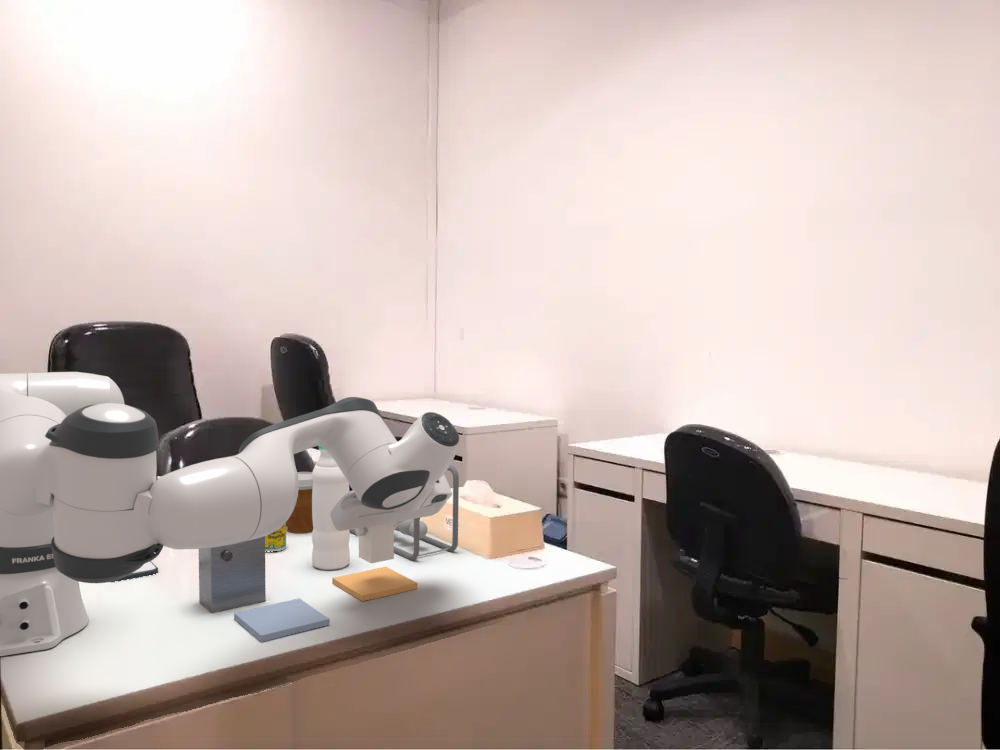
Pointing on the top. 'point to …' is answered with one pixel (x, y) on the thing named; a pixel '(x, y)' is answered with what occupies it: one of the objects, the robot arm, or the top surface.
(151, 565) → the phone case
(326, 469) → the water bottle
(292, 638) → the top surface
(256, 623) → the blue pad
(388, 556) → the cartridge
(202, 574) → the control box
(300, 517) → the disposable coffee cup
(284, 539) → the supplement bottle
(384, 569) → the orange pad
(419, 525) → the newton's cradle
